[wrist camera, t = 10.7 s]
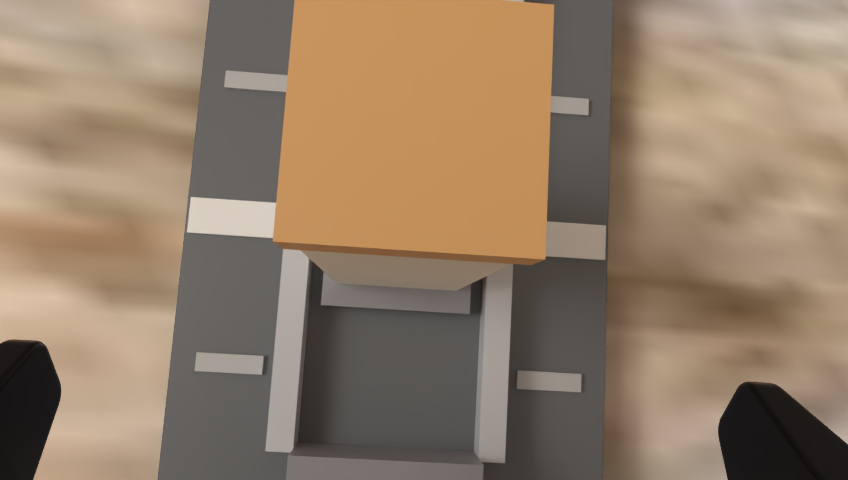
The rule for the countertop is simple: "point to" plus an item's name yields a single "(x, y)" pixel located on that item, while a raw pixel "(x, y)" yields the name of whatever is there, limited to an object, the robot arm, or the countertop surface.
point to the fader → (415, 146)
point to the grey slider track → (377, 328)
